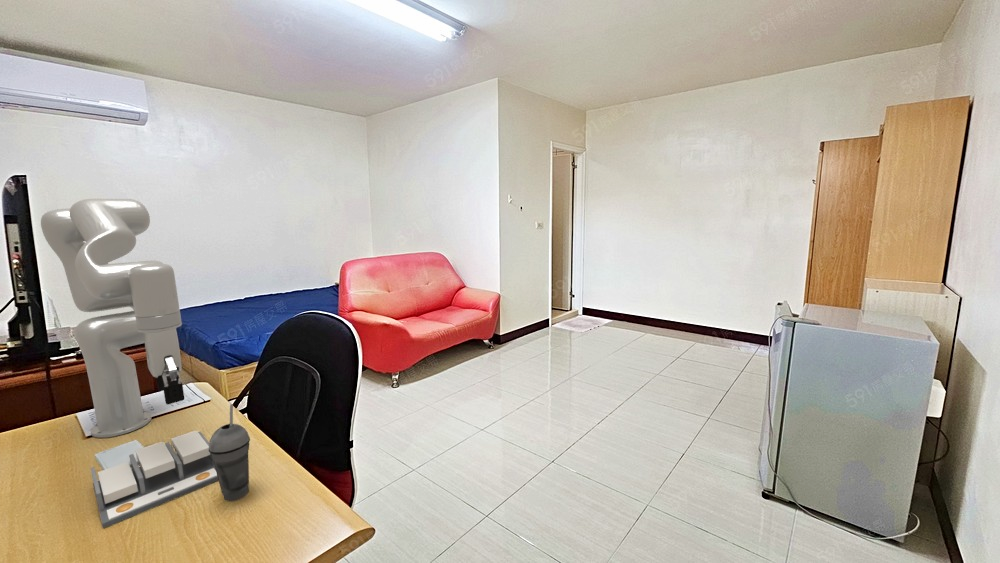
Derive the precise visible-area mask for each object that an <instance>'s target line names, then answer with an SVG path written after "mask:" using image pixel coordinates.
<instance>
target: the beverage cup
mask: <svg viewBox="0 0 1000 563" xmlns="http://www.w3.org/2000/svg"><path fill="white" fill-rule="evenodd" d="M233 422H234V404H232V403H231V404H230V405H229V423H227V424H224V425H222V426H220V427H219V428H217V429H216V430H215V431H214V433H213V434H212V435H211V437H210V439H209V452H210V455H211V457H212V459H213V461H214V465H215V469H216V472H217V476H218V480H219V481H218V484H219V487H220V491H221V494H222V497H223V500H224V501H226V502H236V501H238V500H241V499H242V498H245V497H246V496H247V494H248V493H249V488H250V486H249V485H250V470H249V450H250V441H251V437H250V435H249V433H248V431H247V429H246V428H245V427H244V426H242V425H241V424H237V423H233Z"/></svg>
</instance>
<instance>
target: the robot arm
mask: <svg viewBox="0 0 1000 563" xmlns="http://www.w3.org/2000/svg"><path fill="white" fill-rule="evenodd" d="M150 217H151V216H150V214H149V211H148V210H147V208H146V206H145V205H144V204H143V203H141V202H140V201H139V200H135V199H132V198H87V199H81V200H79V201H76V202H75V203H73V204H72V206H70V208H60V209H59V208H58V209H52V210H48V211H47V212H44V214H42V216H41V218H40V227H41V231H42V234H43V237H44V239H45V240H46V242H47V244H48V246H49V247H50V248H51V249H52V251H53V252H54V254H56V256H57V258H59V260H60V261H61V264H62V266H63V268H64V272H65V276H66V280H67V284H68V286H69V289H70V294H71V297H72V300H73V303H74V305H75V307H76V308H77V309H78V310H79V311H80V312H83V313H97V312H104V311H109V310H110V311H111V310H116V309H124V308H131V309H132V310H131V311H124V312H120V313H119V312H118V313H111V314H106V315H104V314H103V315H100V316H94V317H91V318H87V319H84V320H82V321H80V322H79V323H78V324H77V325H76V327H75V329H74V336H75V340H76V343H77V345H78V347H79V349H80V351H81V354H82V357H83V360H84V364H85V367H86V372H87V377H88V383H89V387H90V392H91V393H90V394H91V397H92V398H91V399H92V403H93V408H94V414H95V418H96V419H95V420H96V424H95V425H93V426H92V427H91V428H90V435H91V436H92V437H94V438H99V439H101V438H110V437H111V438H112V437H117V436H121V435H125V434H128V433H131V432H134V431H136V430H138V429H140V428H143V427H145V426H146V425H148V424H149V423H150V421H151V420H152V414H151V413H150V412H146V411H144V409H143V403H142V398H141V397H142V396H141V392H140V386H139V380H138V375H137V370H136V369H137V368H136V363H135V361H134V359H133V358H131V357H130V356H129V355H127V354H125V353H123V352H122V351H121V350H122V349H125V348H128V347H129V348H130V347H132V346H137V345H141V344H144V347H145V353H146V361H147V362H146V363H147V368H148V370H149V372H150V374H151V375H152V377H153V378H155V379H156V386H157V390H158V392H162V391H163V395H164V401H165V402H164V403H165V404H166V405H171V404H175V403H179V402H183V401H184V400H185V393H184V392H185V391H184V386H183V382H182V379H181V376H180V372H181V371H182V357H181V352H180V349H181V348H180V342H179V337H178V332H177V328H179V327H181V326H182V325H183V323H182V317H181V316H182V315H181V310H180V303H179V297H178V288H177V284H176V283H177V282H176V276H175V270H174V268H173V267H172V266H171V265H170V264H167V263H166V264H165V263H163V262H162V261H160V260H159V261H158V260H142V261H130V262H117V263H116V262H115V263H112V262H113V261H115V260H118V259H120V258H122V257H125V256H126V255H127V254H130V253H131V251H133V250H134V249H135V247H136V244H137V238H136V236H138V235H141V234H143V233H144V232H146V231H147V230H148V229H149V227H150V224H151V219H150ZM110 262H111V263H110Z"/></svg>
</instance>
